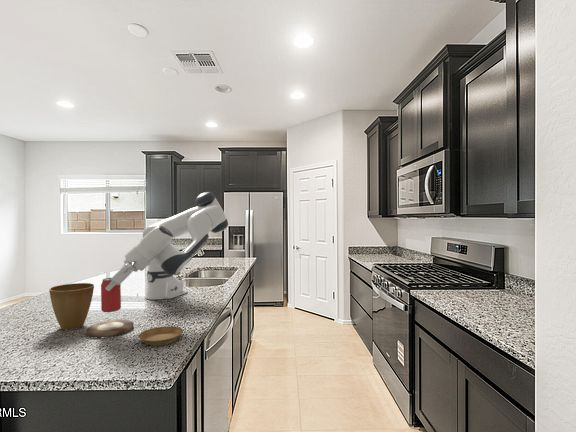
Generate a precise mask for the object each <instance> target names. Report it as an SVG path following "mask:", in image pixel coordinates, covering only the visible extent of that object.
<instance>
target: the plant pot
mask: <svg viewBox="0 0 576 432" xmlns="http://www.w3.org/2000/svg"><path fill="white" fill-rule="evenodd" d="M48 290H49V296H50V301H51V306H52V309H53V313H54V316H55V318H56V321H57V324H58V325H59V328H60V329H61V330H64V331H69V330H71V329H72V330H76V328H77V329H79V328H82V327H83V326H84V325H85V323H86V320H87V317H88V314H89V311H90V308H91V304H92V301H93V300H92V299H93V294H94V290H95V284H94V283H91V282H89V283H88V282H79V283H77V282H75V283H67V284H60V285H55V286H52V287H50V288H49V289H48Z"/></svg>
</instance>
